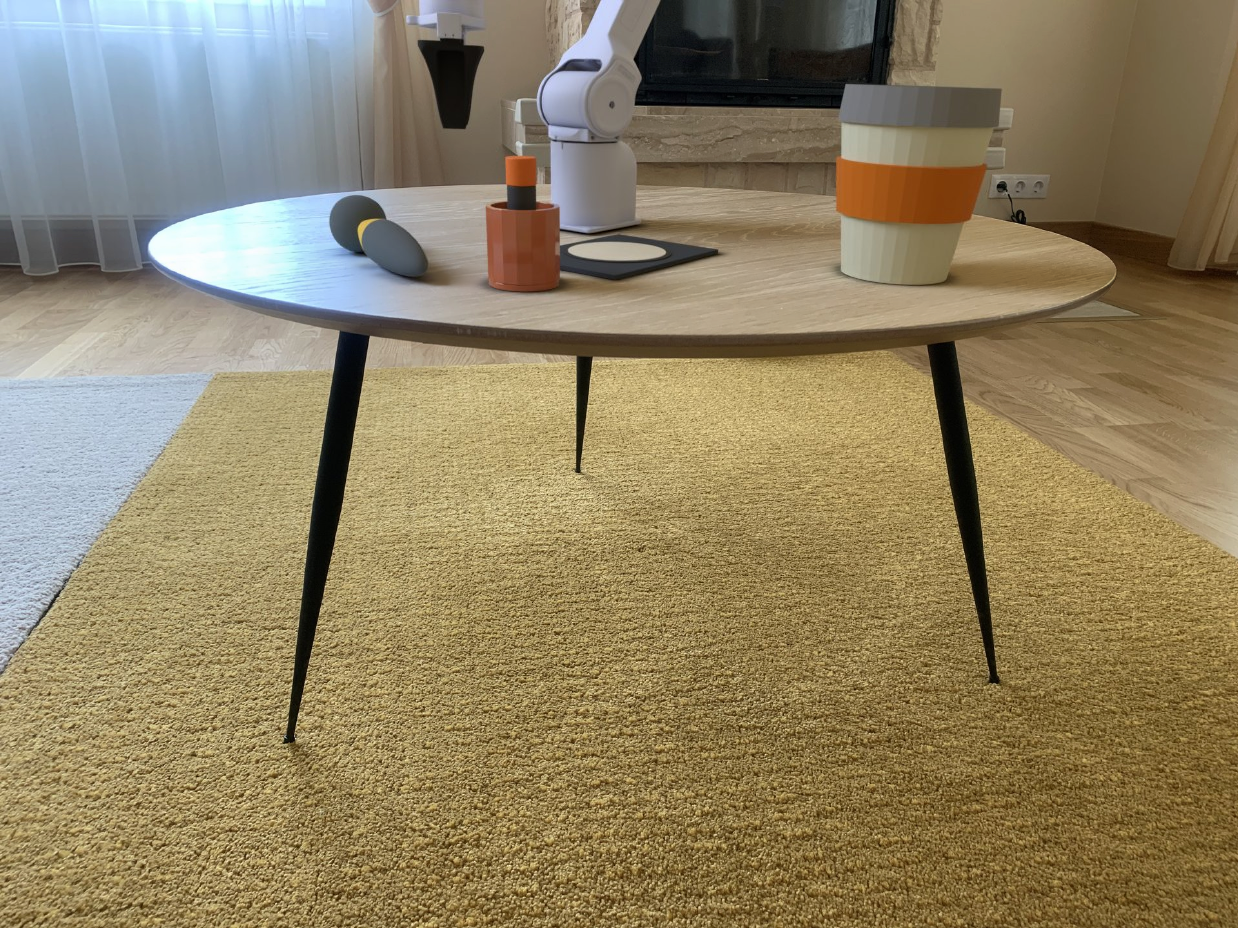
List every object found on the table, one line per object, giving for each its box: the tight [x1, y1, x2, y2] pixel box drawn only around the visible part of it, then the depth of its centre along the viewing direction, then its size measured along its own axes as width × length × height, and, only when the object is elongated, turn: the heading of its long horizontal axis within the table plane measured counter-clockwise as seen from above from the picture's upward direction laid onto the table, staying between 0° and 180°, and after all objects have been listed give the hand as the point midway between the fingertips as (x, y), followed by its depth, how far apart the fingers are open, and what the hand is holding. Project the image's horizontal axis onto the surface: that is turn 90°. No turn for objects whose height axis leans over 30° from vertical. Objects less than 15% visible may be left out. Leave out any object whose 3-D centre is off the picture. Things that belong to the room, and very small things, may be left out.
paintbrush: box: [328, 194, 429, 278], centre depth 74 cm, size 20×5×5 cm, turn 38°
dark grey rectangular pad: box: [560, 233, 719, 281], centre depth 80 cm, size 16×12×1 cm
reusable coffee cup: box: [835, 83, 1003, 286], centre depth 73 cm, size 13×13×15 cm
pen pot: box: [485, 200, 561, 293], centre depth 68 cm, size 6×6×6 cm
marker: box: [504, 155, 538, 210], centre depth 67 cm, size 2×2×9 cm
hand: (455, 127), depth 82 cm, fingers open, 7 cm apart
